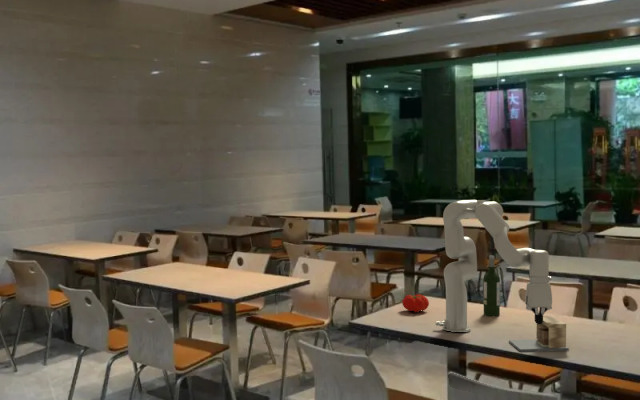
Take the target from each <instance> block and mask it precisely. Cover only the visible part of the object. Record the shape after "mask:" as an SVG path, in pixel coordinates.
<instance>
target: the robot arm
mask: <svg viewBox="0 0 640 400" xmlns="http://www.w3.org/2000/svg"><path fill="white" fill-rule="evenodd" d="M503 215H504V209H503V207H502V205H501V204H500V203H498V202H497V201H494V200H493V201H489V200H479V199H478V200H477V199H462V200H455V201H452V202H450V203H449V204H448V205H447V206H446V207H445V208H444V210H443V215H442V217H443V218H442V220H443V226H444V244H445V245H444V246H445V253H446V256H447V257H449V258H450V259H454V260H457V259H458V261H453V262H450V263H448V264H447V265H446V266H445V267H444V269H443V278H444V283H445V318H444V319H443V320H441V321H438V320H437V321H435V326H436V327H437V326H439V327H442V330H443V329H444V330H447V331H451V332H466V333H470V331H471V327H470V326H469V325H468V291H467V286H466V283H465V282H467V281H470V280H473V279H474V278H475V277H476V275H477V273H478V261H477V260H478V259H477V247H476V244H475V242H474V240H473V239H472V238H471V237H469V236H464V234H465V233H464V226H463V224H462V221H461V220H467V219H477V220H478V222H480V224H481V225H482V226H483V227H484V229H485V230H486V231H487V232H488V233H489V235H490V236H491V237H492V238H493V243H494V247H495V249H496V251H497V253H498V255H499V256H500V257H501V259H502V260H503V261H504V262H505V263H506V264H507V265H508V266H510V267H511V268H514V269H515V268H520V267H526V266H529V282H527V283H526V289H525V295H524V302H525V309H526V310H527V311H530V312H532V313H533V314H534V322H535V324H536V325H537V324H542V322H543V316H544V315H545V313H546V312H547V311H549V310H552V309H553V294H552V293H553V292H552V286H551V283H550V281H552V280H553V278H552V277H553V276H550V275H549V268H550V267H549V260H550V259H549V257H550V256H549V255H550V254H549V252H548V251H547V250H543V249H533V248H530V247H523V248H522V247H521V248H515V246H514V245H513V243H511V241H510V239H509V236H508V232H509V231H510V225H509V224H508V222H507V221H505V219H504V218H503ZM444 330H443V331H444ZM451 332H450V333H451Z"/></svg>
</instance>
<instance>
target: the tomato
mask: <svg viewBox="0 0 640 400" xmlns="http://www.w3.org/2000/svg"><path fill="white" fill-rule="evenodd" d="M401 303H402V306H403V307H404V309H406V310H407V311H409V312H410V311H414V312H413V313H416V312H417V313H419V311H420V312H422V311H421V310H424V311H426V310H427V309H428V308H429V305H430V301H429V299H428V298H427V296H426V295H425V296H424V295H423V294H419V293H417V294H413V295H411V294H407V295H405V297H404V298H403V299H402V302H401Z"/></svg>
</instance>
